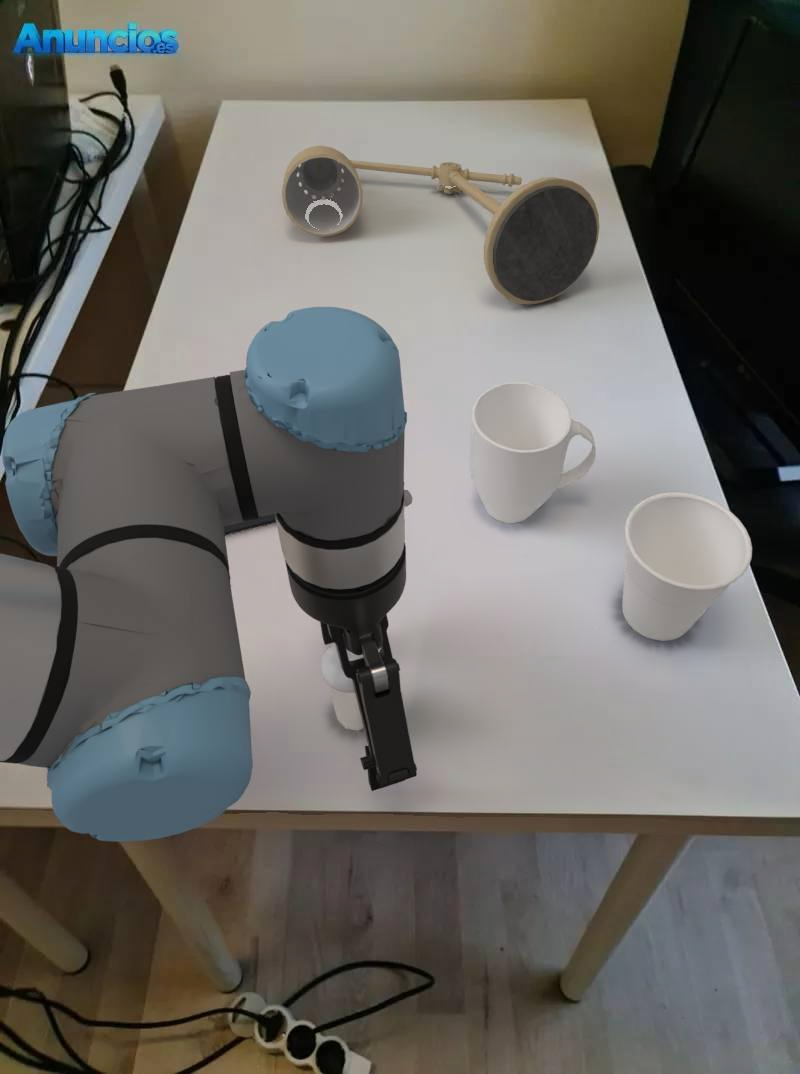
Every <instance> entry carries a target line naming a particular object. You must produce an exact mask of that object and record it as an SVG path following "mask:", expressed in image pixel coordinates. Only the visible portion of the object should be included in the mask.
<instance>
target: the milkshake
mask: <svg viewBox="0 0 800 1074" xmlns="http://www.w3.org/2000/svg"><path fill="white" fill-rule="evenodd" d="M346 651H347V655H348V659H349V661H353V660H357V659H360V658H363V654H362V655H355V654H353V653H351V652H350V651H348V650H347V649H346ZM320 668H321V669H320V670H321V674H322V677H323V680H324V682H325V685H326V688H327V691H328V693H329V696H330V699H331V702H332V705H333V709H334V712H335V716H336V719H337V721H338V722H339V724H341V725H342V726H343V727H344V728H345V730H351V731H356V732H359V731H361V730H364V727H363V723H362V719H361V715H360V710H359V706H358V702H357V698H356V694H355V690H354V686H353V682H352V679H350V678H347V677H346V676H345V674H344V672H343V670H342V668H341V664H340V660H339V656H338V652H337V648H336V644H335V643H332V644H331V645H330V646H329V647H328V648H326V650H325V652H324V653H323V656H322V659H321V664H320Z"/></svg>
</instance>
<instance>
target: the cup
mask: <svg viewBox="0 0 800 1074" xmlns="http://www.w3.org/2000/svg"><path fill="white" fill-rule="evenodd" d="M624 539H625V543H626V545H625V548H626V549H625V557H624V558H625V562H624V575H623V576H624V577H623V591H622V601H621V603H622V604H621V607H622V613H623V616H624V618H625V621H626V623H628V625H629V626H630V627H631V628H632V629H633V630H634V631H635V632H637V633H638V634H639V635H641V636H643V637H646V638H648V639H651V640H655V641H662V642H663V641H665V642H667V641H672V640H676V639H679V638H680V637H683V636H684V635H685V634H687V632H688V631H689V630H690V629H691V628H692V627H693V626H694V625H695V624H696V622H697V621H698V620H699V619H700V618H701V617H702V616H703V614H704V613H705V612H706V611H707V610H708V609H709V608H710V607H711V606H712V605H713V604H714V603H715V602H716V601H717V599H719V597H720V596H721V595H722V594H723V593H724V592H725V591H726V590H727V589H728V588H729V587H730V586H731V584H733V583H735V582H736V581H737V580H739V579H740V578H741V577H743V576H744V574H745V573H746V571H747V570H748V568H749V566H750V564H751V561H752V557H753V545H752V540H751V537H750V535H749V533H748V530H747V528H746V527H745V526H744V524H743V523H742V521H741V520H740V519H739V518H738V517H737V516H736V515H735V514H734V513H733V512H732V511H731V510H730V509H728V508H726V507H725V506H723V505H722V504H721V503H719V502H716V501H715V500H713V499H710V498H707V497H705V496H702V495H699V494H695V493H690V492H679V491H674V492H673V491H672V492H662V493H658V494H654V495H651V496H650V497H647V498H645V499H643V500H642V501H641V502H639V503H638V504H636V505H635V506H634V507H633V509H632V510H631V511H630V513H629V514H628V516H627V519H626V521H625V526H624Z"/></svg>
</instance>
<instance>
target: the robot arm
mask: <svg viewBox="0 0 800 1074" xmlns="http://www.w3.org/2000/svg"><path fill="white" fill-rule="evenodd" d="M399 351H400V350H399V348H398V346H397V345H396V343H395V342H394V340H393V338H392V337H391V335H390V334H389V333H388V332H387V331H386V329H384V327H383V326H382V325H380V324H379V323H378V322H377V321H375V320H373V319H372V318H370V317H368V316H367V315H365V314H362V313H361V312H357V311H354V310H351V309H348V308H342V307H337V306H310V307H304V308H300V309H296V310H292V311H289V313H287V315H286V317H285V318H284V319H283V320H276V321H270V322H268V323H267V324H265V325H264V326H263V327H261V328H260V330H259V331H258V332H257V333H256V334H255V335H254V337H253V339H252V340H251V342H250V344H249V346H248V348H247V352H246V357H245V358H246V360H245V364H246V366H245V368H244V369H240V370H235V371H234V370H233V371H230V372H229V374H225V375H218V376H211V377H205V378H198V379H192V380H186V381H179V382H173V383H172V382H171V383H166V384H159V385H154V386H147V387H140V388H134V389H127V390H121V391H114V392H105V393H100V392H91V393H87V394H85V395H84V396H79V397H76V399H72V400H68V401H63V402H58V403H54V404H50V405H49V404H48V405H44V406H41V407H36V408H31V409H27V410H24V411H22V412H20V413H19V414H17V415H16V416H14V418H13V419H12V420H11V421H10V422H9V424H8V426H7V427H6V431H5V433H4V436H3V441H2V450H1V451H2V453H1V454H2V455H1V457H2V465H3V467H4V471H5V475H6V476H5V477H6V479H5V482H4V485H5V491H6V494H7V498H8V501H9V505H10V508H11V511H12V514H13V517H14V519H15V522H16V525H17V526H18V529H19V531H20V532H21V533H22V535H23V537H24V538H25V540H26V542H27V543H28V544H29V545H30V547H31V548H32V549H34V550H35V551H36V552H38V553H40V554H42V555H44V556H48V557H56V565H54V564H47V563H42V562H38V561H35V560H30V559H26V558H21V557H17V556H13V555H8V554H4V553H0V763H4V764H19V765H24V766H27V767H38V768H44V769H46V770H47V772H46V781H47V783H46V786H47V787H48V788H49V789H50V792H51V793H50V796H51V807H52V811H53V813H54V815H55V817H56V818H57V819H58V821H59V822H60V824H61V825H62V826H63V827H64V828H66V829H67V830H69V831H70V832H73V833H78V834H82V835H85V834H89V835H90V837H91V838H93V839H97V840H98V841H102V842H103V841H104V842H116V843H117V842H118V843H120V842H121V843H122V842H123V843H124V842H125V843H127V842H142V841H150V840H157V839H163V838H167V837H172V836H175V835H179V834H182V833H185V832H189V831H192V830H194V829H197V828H199V827H202V826H204V825H206V824H208V823H210V822H212V821H214V820H216V819H218V818H219V817H221V816H222V815H223V814H224V813H225V812H226V811H227V809H228V808H229V807H231V806H233V805H234V804H236V803H237V802H239V800H240V799H241V798H242V796H244V793H245V792H246V791H247V789H248V786H249V785H250V783H251V778H252V774H253V767H254V766H253V765H254V764H253V762H254V761H253V749H252V731H251V730H252V729H251V711H250V699H251V695H252V691H251V689H250V686H249V684H248V682H247V680H246V674H245V668H244V662H243V655H242V649H241V642H240V638H239V631H238V624H237V618H236V612H235V605H234V599H233V592H232V584H231V574H230V565H229V556H228V548H227V541H226V535H225V533H224V526H227V525H231V524H236V523H240V522H244V521H249V520H254V519H258V516H259V517H261V516H267V515H272V514H275V518H276V522H275V523H276V528H277V532H278V537H279V542H280V547H281V552H282V555H283V557H284V562H285V566H286V567H285V568H286V571H287V577H288V583H289V587H290V591H291V594H292V598H293V599H294V601H295V602H296V605H298V607H299V608H300V609H301V610H302V611H303V612H304V613H305V614H306V615H308V616H309V617H310V618H311V619H314V620H315V621H318V622H319V623H320V630H321V637H322V639H323V643H324V646H327V645H330V644H331V645H332V644H334V643H335V644H336V648H337V652H338V656H339V660H340V664H341V668H342V670H343V672H344V674H345V676H346V677H347V678H350V679H352V682H353V686H354V690H355V694H356V698H357V702H358V706H359V710H360V715H361V719H362V723H363V727H364V729H363V731H364V734H365V738H366V743H367V745H364V751H365V756H362V757H360V758H359V760H360V763H361V766H362V770H363V771H367V779H368V784H369V787H370V791H371V792H374V791H377V790H380V789H384V788H386V787H390V786H393V785H396V784H399V783H402V782H405V781H406V780H409V779H412V778H415V777H418V776H417V775H418V773H417V771H418V767H417V764H416V763H415V759H414V753H413V748H412V743H411V738H410V732H409V727H408V722H407V721H408V720H407V716H406V710H405V706H404V700H403V695H402V689H401V676H400V671H401V667H400V664H399V662H398V661H397V660H396V659H395V658H394V657H393V652H392V649H391V644H390V640H389V636H388V628H389V624H390V623H389V618H388V615H387V614H388V613H389V612H390V611H391V610H392V609H393V608H394V607H395V606H396V605H397V603H398V602H399V601H400V598H401V597H402V595H403V593H404V590H405V587H406V583H407V546H406V527H405V525H406V524H405V523H406V522H405V521H406V520H405V508H406V507H408V506H410V505H411V504H413V496H412V494H411V492H410V491H409V490H408V489H405V437H406V436H405V435H406V433H405V432H406V431H405V430H406V425H407V423H408V412H407V411H405V401H404V391H403V381H402V368H401V358H400V352H399ZM346 649H347V650H348V651H350V652H351V653H353V654H355V655H362V654H363V658H360V659H357V660H353V661H349V659H348V655H347V651H346ZM379 649H380V650H379Z"/></svg>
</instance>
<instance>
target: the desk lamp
mask: <svg viewBox="0 0 800 1074" xmlns="http://www.w3.org/2000/svg"><path fill="white" fill-rule="evenodd" d="M357 170H368V171H375V172H376V171H378V172H387V173H394V174H395V173H397V174H405V175H417V176H425V177H426V176H427V177H430V178H431V180H435V179H438V184H439V185H438V186H437V187H436V191H437V192H439V191H444V194H448V195H451V194H453V193H454V192H455V193H458V194H461V191H462V192H463V193H464V194H466V195H467V196H468V197H470V198H471V199H472V200H474V201H475V202H476V203H478V204H479V205H480V206H481V207H483V208H484V209H486V210H487V211H488V212H490V213H491V214H492V215H493V217H492V218H491V220H490V222H489V225H488V228H487V230H486V233H485V238H484V242H483V263H484V267H485V272H486V274H487V276H488V279H489V280H490V282H491V284H492V285H493V286H494V288H495V289H496V290H497V291H498V293H499V294H500V295H501V296H502V297H504V298H506V299H507V300H508V301H511V302H513V303H516V304H519V305H528V306H529V305H536V304H541V303H545V302H547V301H550V300H553V299H555V298H556V297H559V296H561V295H562V294H563V293H565V292H566V291H568V289H570V288H571V287H572V286H573V285H574V284H575V283H576V282H577V281H578V280H579V278H581V276H582V275H583V273H584V272H585V270H586V269H587V268H588V266H589V265H590V263H591V261H592V258H593V257H594V254H595V251H596V247H597V244H598V240H599V234H600V216H599V212H598V208H597V204H596V202H595V200H594V198H593V197H592V195H591V194H590V193H589V191H587V190H586V188H585V187H584V186H582V185H581V184H579V183H578V182H576V181H573V180H570V179H565V178H562V177H561V178H560V177H555V176H550V177H549V176H548V177H541V178H538V179H534V180H531V181H529V182H527V183H525V184H523V185H522V180H523V179H522V177H521V176H515V174H514V173H509V175H507V174H506V173H504V174H494V173H484V172H473V171H470V169H469V168H466V169H464V170H463V169H462V164H460V163H457V162H451V161H449V162H447V161H446V162H441V163H440V164H439V167H438V166H436V165H432V167H423V166H413V165H403V164H395V163H394V164H392V163H384V162H383V163H382V162H373V161H363V160H351V159H349V158H348V156H346V155H345V154H344V153H343V152H341V151H339V150H338V149H336V148H334V147H330V146H327V145H326V146H325V145H315V146H310V147H307V148H305V149H303V150H302V151H299V152H298V153H297V154H295V156H294V157H293V158H292V159H291V161H290V163H289V164H288V165H287V168H286V171H285V173H284V176H283V184H282V191H281V197H282V204H283V208H284V210H285V213H286V215H287V216H288V219H290V221H291V222H292V224H294V225H295V227H297V228H298V229H300V230H301V231H303V232H304V233H306V234H308V235H313V236H316V237H323V238H324V237H325V238H327V237H331V236H332V237H333V236H335V235H336V236H337V235H339V234H341V233H343V232H344V231H346V230H347V229H349V228H350V227H351V226H352V225H353V224H354V222H355V221H356V220H357V218H358V217H359V215H360V213H361V211H362V210H361V209H362V207H363V198H364V193H363V192H364V191H363V187H362V183H361V180H360V178H359V174H358V172H357ZM342 179H343V182H342ZM470 181H474V182H483V183H484V182H485V183H491V184H492V183H493V184H502V186H505V185H507V186H508V187H509V188H511V187H513V186H519V187H518V188H517V189H515V190H514V191H513V192H511V194H509V196H507V197H506V198H505V199H504V201H503V202H501V203H499V202H498V201H497V200H495V199H494V198H493V197H492V196H490V195H488V194H487V193H486V192H485V191H483V190H481V189H480V188H479V187H477V186H476V185H474V184H473V183H472V182H470ZM300 183H301V186H300ZM440 185H444V186H440ZM520 185H521V186H520ZM445 186H451V187H453V186H456V187H453V188H451V189H448V188H445ZM338 188H339V190H338ZM305 191H306V192H307V193H305ZM331 194H332V195H333V196H331ZM313 196H314V197H315V198H314V197H313ZM322 197H324V200H325V199H328V200H330V199H331V201H334V202H335V203H337V205H338V206H339V208H340V209H341V211H342V212H341V213H342V214H343V217H342V219H341V222H340V215H339V212H338V211H337V210H336V209H335V208H334V207H332V206H330V205H325V204H323V205H318V206H316V207H314V208H313V209H312V211H311V212H310V214H309V222H310V224H311V225H312V226H313V227H315V228H313V227H312V226H311V225H310V224H309V223H308V222H307V220H306V219H305V214H306V210H307V208H308V206H309V205H310V204H311V203H314V202H313V201H317V200H320V199H322ZM339 222H340V223H339ZM338 223H339V225H337V224H338ZM316 228H317V229H316ZM318 229H319V230H318ZM330 229H331V230H330Z"/></svg>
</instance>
